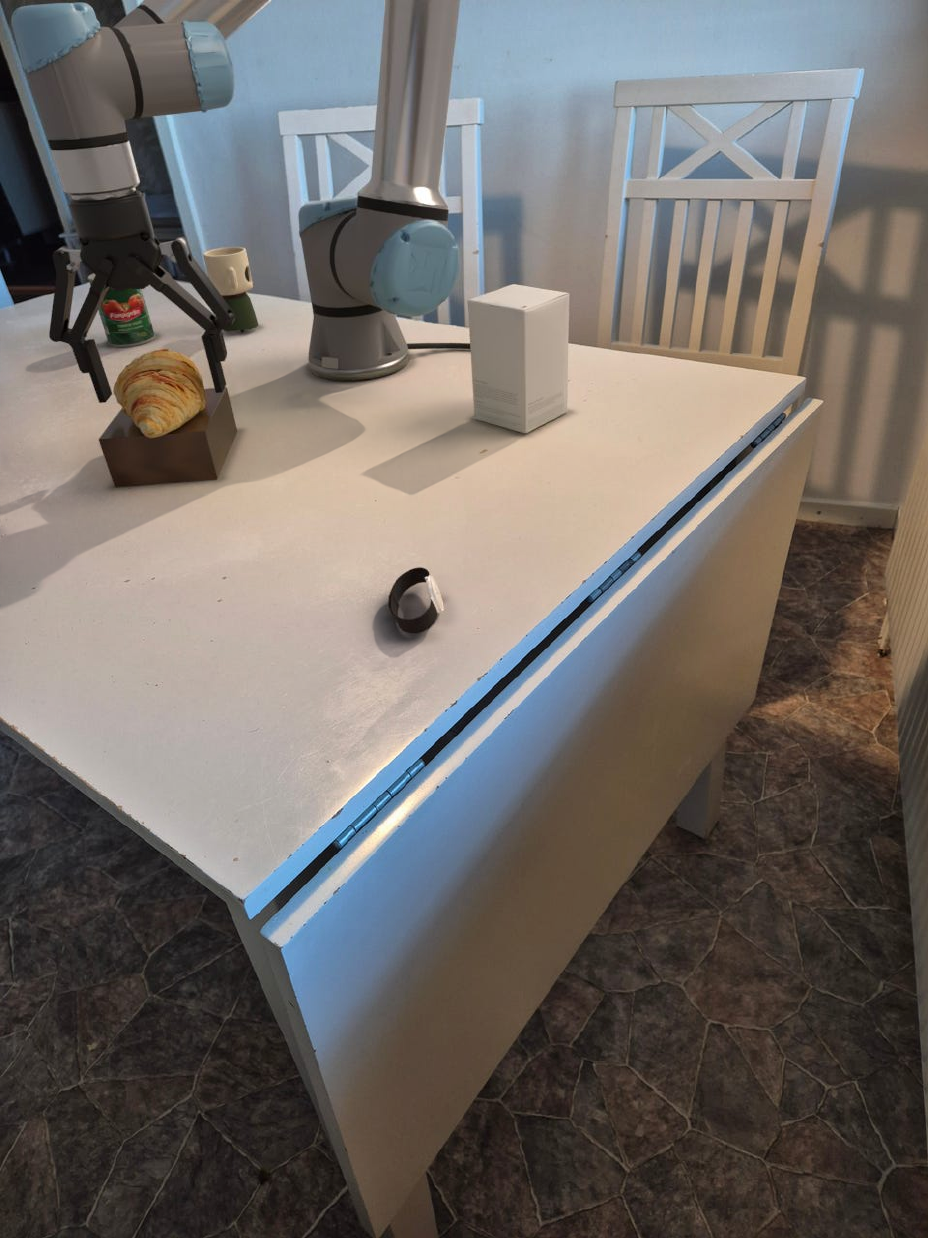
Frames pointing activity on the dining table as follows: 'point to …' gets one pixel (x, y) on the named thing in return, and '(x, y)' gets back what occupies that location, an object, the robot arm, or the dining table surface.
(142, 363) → the croissant
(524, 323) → the white product box
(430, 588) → the watch
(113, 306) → the canned tomato
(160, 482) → the walnut block
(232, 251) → the character mug
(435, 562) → the dining table surface
